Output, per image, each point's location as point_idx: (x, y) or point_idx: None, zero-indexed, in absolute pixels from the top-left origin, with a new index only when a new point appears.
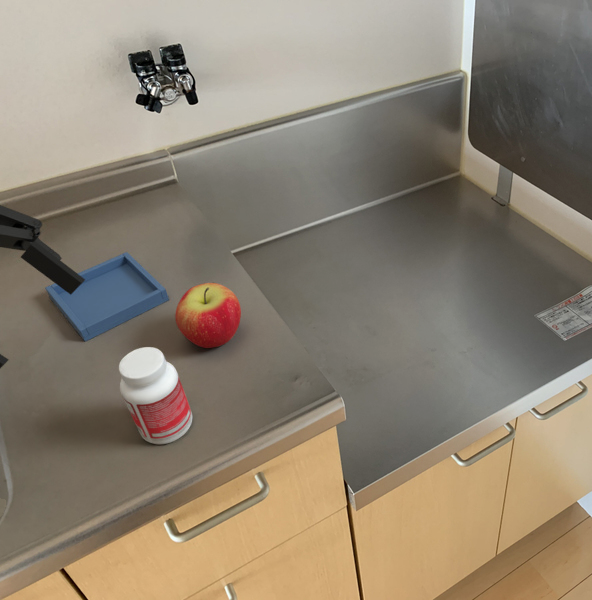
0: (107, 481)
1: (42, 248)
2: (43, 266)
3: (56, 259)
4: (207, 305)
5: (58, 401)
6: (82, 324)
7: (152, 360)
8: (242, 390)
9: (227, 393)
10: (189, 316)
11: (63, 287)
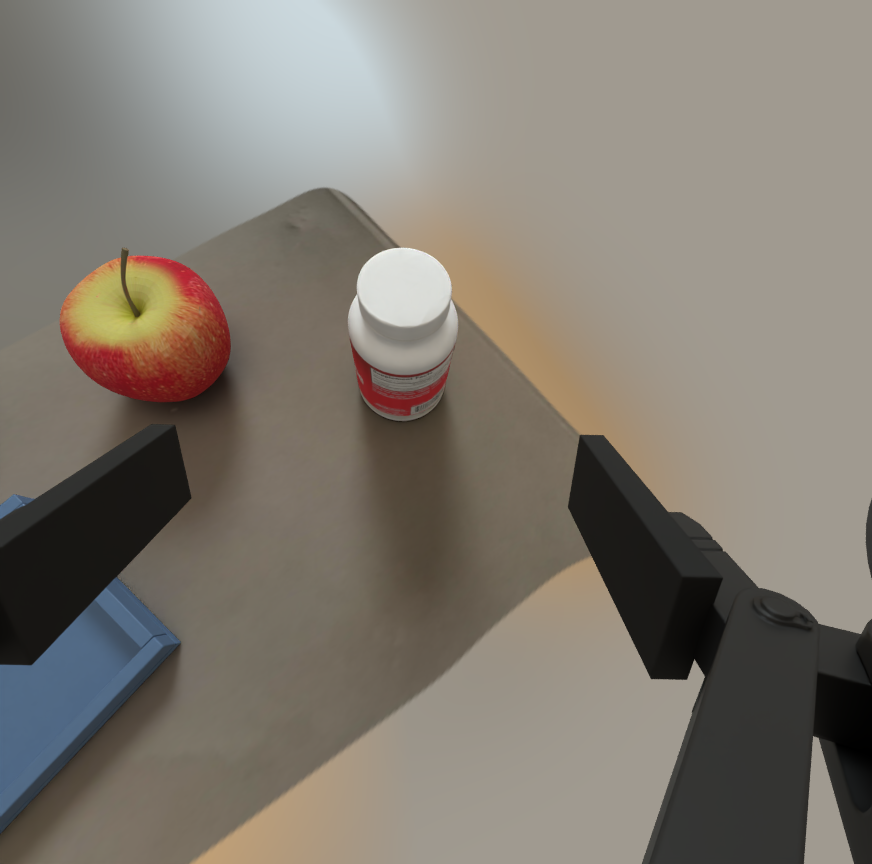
0: (515, 432)
1: (2, 526)
2: (97, 549)
3: (71, 481)
4: (156, 291)
5: (364, 605)
6: (138, 652)
7: (397, 266)
8: (321, 294)
9: (328, 314)
10: (191, 322)
11: (172, 509)
